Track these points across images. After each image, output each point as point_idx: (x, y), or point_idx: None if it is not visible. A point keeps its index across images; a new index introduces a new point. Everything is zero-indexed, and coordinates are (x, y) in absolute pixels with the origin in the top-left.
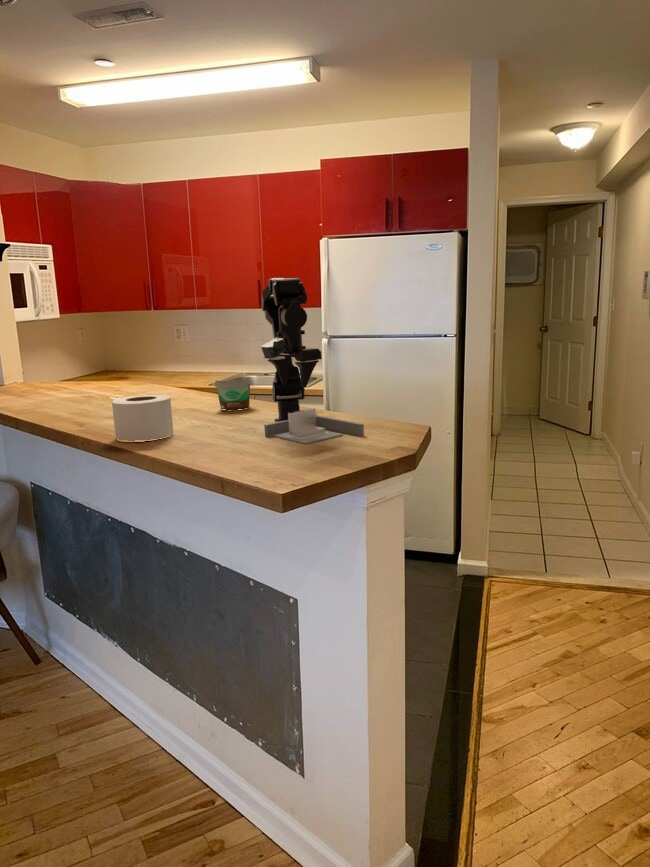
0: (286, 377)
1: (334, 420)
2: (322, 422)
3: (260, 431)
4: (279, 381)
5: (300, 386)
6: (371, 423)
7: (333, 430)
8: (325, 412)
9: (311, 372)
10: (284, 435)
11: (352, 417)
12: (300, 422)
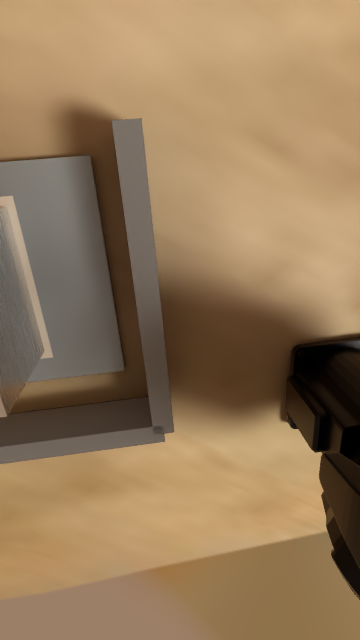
0: (356, 549)
1: None
2: (87, 420)
3: (257, 171)
4: None
5: (333, 552)
6: (44, 544)
7: (17, 413)
8: None
9: None
10: (35, 192)
11: (184, 543)
12: None
